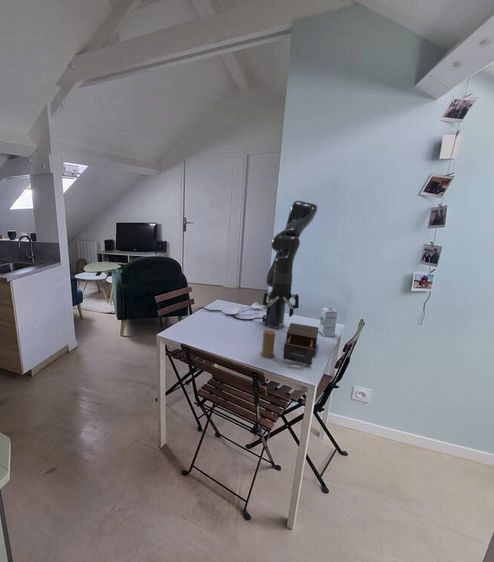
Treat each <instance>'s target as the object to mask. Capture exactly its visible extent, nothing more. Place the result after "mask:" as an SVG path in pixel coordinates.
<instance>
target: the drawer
mask: <svg viewBox="0 0 494 562" xmlns="http://www.w3.org/2000/svg"><path fill="white" fill-rule="evenodd" d="M313 340H314V339H309V338H304V337H298V336H293V335H290V336H289V339H288V341H287V343H286V342H285V343H284V346H283V348H284V349H283V354H282V355H283V356H282V357H283V358H282V359H283V360H287V361H291V362H296V363H300V364H305V365H309V366H312V364H313V357H314V356H313V349H314V348H313Z"/></svg>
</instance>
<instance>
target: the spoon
mask: <svg viewBox="0 0 494 562" xmlns="http://www.w3.org/2000/svg"><path fill="white" fill-rule="evenodd" d="M246 308H249V309H253V310H260V309H263V308H267V306H265V305H263V304H260V303H259V302H258V301H255V302H253V304H251V305H242V306H240V307H236V308H226V309H221V310H222V313H223V314H225V315H230V316H232V314H233V315H237V314H238V313H239V312H240V310H242V309H246Z"/></svg>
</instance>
